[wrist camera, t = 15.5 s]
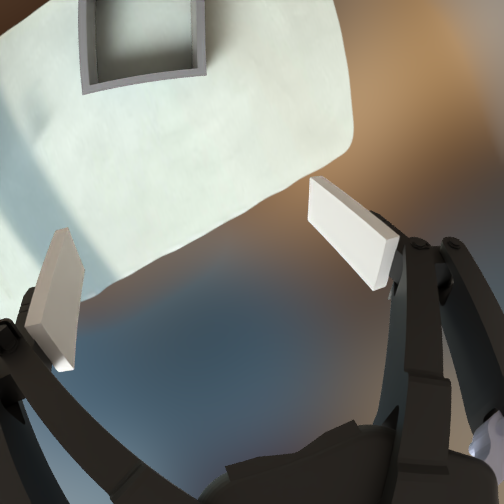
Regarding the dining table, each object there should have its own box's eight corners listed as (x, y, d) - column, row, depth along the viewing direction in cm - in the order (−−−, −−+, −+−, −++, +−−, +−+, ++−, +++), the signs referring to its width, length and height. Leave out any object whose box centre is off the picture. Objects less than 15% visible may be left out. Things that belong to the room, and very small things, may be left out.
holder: (92, 92, 33) (82, 95, 28) (88, -4, 25) (79, -15, 20) (200, 75, 37) (206, 75, 32) (198, -20, 28) (204, -33, 24)
